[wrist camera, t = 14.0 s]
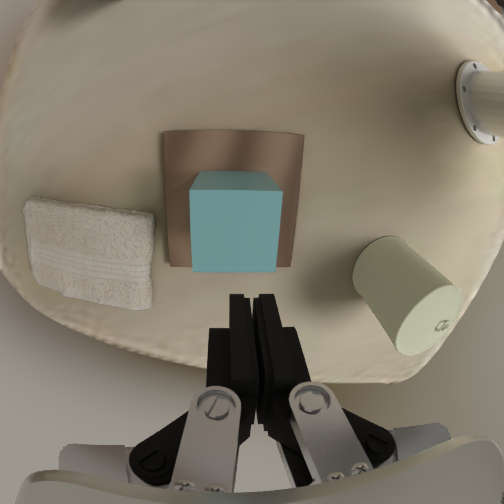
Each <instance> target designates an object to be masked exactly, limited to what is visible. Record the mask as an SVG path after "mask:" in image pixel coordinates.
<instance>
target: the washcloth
mask: <svg viewBox="0 0 504 504" xmlns="http://www.w3.org/2000/svg"><path fill="white" fill-rule="evenodd" d="M22 213H23V215H24V218H25V226H26V237H27V245H28V254H29V261H30V266H31V271H32V275H33V276H34V277H35V280H36V282H37V283H38V284H40V285H41V286H45V287H47V288H50V289H53V290H56V291H58V292H60V293H61V294H62V295H63V296H64V297H73V298H77V299H83V300H87V301H90V302H94V303H97V304H98V303H99V304H103V305H111V306H116V307H121V308H125V309H130V310H145V309H149V308H151V307H152V305H153V304H152V303H153V291H152V287H153V286H152V281H151V280H152V278H151V277H150V271H151V260H152V257H153V251H154V235H155V232H154V231H155V216H154V215H153V213H149V212H147V213H146V212H140V211H135V210H134V209H132V210H127V209H117V208H111V207H109V208H108V207H106V206H105V207H103V206H101V205H98V206H96V205H93V204H82V203H79V204H75V203H71V202H61V201H58V200H57V201H55V200H51V199H43V198H38V197H32V198H31V199H29V200H26V202H25V206H24V208H23V211H22Z"/></svg>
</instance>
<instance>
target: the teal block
mask: <svg viewBox="0 0 504 504" xmlns="http://www.w3.org/2000/svg"><path fill="white" fill-rule="evenodd" d="M189 196H190V230H191V252H192V269H193V272H275V270H276V260H277V251H278V240H279V230H280V219H281V208H282V196H283V191H282V190H281V189H280V187H279V186H278V185H277V184H276V183H275V182H274V180H273V179H272V178H271V177H270V176H269V175H268V173H267V172H246V171H200V172H199V174H198V176H197V177H196V179H195V181H194V183H193V184H192V186H191V188H190V190H189Z"/></svg>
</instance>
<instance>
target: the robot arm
mask: <svg viewBox="0 0 504 504" xmlns="http://www.w3.org/2000/svg"><path fill="white" fill-rule="evenodd" d="M456 93H457V101H458V106H459V110H460V113H461V116H462V119H463V122H464V124H465V126H466V128H467V130H468V131H469V133H470V134H471V135H472V137H473V138H474V139H475V140H477V141H478V142H480V143H483V144H486V145H492V144H494V143H496V142H497V141H498V140H499V139H500V138H504V71H490V70H489V68H487V67H486V66H485V65H484V64H482V63H481V62H478V61H467V62H465V63H463V64H462V65H461V67H460V68H459V71H458V74H457V80H456ZM206 381H207V382H206V388H204V389H202V390H200V391H198V392H197V393H196V394H195V395H194V397H193V399H192V401H191V405H190V409H189V411H187V412H186V413H185V414H183V415H182V416H180V417H179V418H177V419H176V420H175V421H173V422H172V423H170V424H169V425H167V426H166V427H165V428H163V429H161V430H160V431H158V432H157V433H155V434H154V435H152V436H150V437H149V438H147V439H146V440H144V441H142V442H141V443H139V444H138V445H137V446H136V447H125V446H124V445H87V444H68V445H67V446H65V447H63V449H62V450H61V451H60V455H59V470H44V471H38V472H35V473H32V474H30V475H29V476H28V477H27V478H26V479H25V480H24V482H23V483H22V485H21V487H20V490H19V492H18V495H17V498H16V502H15V504H504V455H503V453H502V451H501V450H500V448H499V447H498V445H497V444H496V443H495V442H494V441H493V440H492V439H491V438H488V437H486V436H481V435H467V436H462V437H457V438H454V439H451V437H450V433H449V431H448V429H447V428H446V427H445V426H444V425H442V424H440V423H431V424H424V425H417V426H409V427H400V428H394V429H393V430H390V431H388V430H386V429H384V428H383V427H380V426H378V425H376V424H374V423H372V422H369V421H368V420H365V419H363V418H361V417H359V416H357V415H355V414H353V413H351V412H349V411H347V410H345V409H343V408H341V406H340V404H339V402H338V401H337V399H336V397H335V395H334V393H333V392H332V391H331V389H329V388H328V387H327V386H325V385H323V384H321V383H319V382H312V381H311V379H310V375H309V372H308V368H307V365H306V362H305V358H304V355H303V351H302V348H301V345H300V341H299V338H298V335H297V331H296V329H295V327H282V324H281V320H280V316H279V312H278V308H277V304H276V300H275V296H274V294H259V298H254V300H253V314H252V313H251V305H250V298H244V294H230V302H229V328H210V329H209V341H208V359H207V380H206ZM255 411H256V412H257V420H258V424H263V425H264V431H268V435H269V436H270V437H272V438H273V439H274V440H276V443H277V447H278V450H279V453H280V455H281V458H282V461H283V464H284V467H285V469H286V472H287V475H288V478H289V481H290V483H291V486H292V488H291V489H283V490H274V491H263V492H244V493H234V488H235V480H236V472H237V463H238V455H239V446H240V445H241V444H242V443H243V442H244V441H245V440H246V439H248V437H250V429H251V424H254V418H255Z"/></svg>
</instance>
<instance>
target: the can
mask: <svg viewBox="0 0 504 504" xmlns="http://www.w3.org/2000/svg"><path fill="white" fill-rule="evenodd" d="M352 280H353V285H354V288H355V289H356V291H357V292H358V293H359V294H360V295H361V296H362V297H363V299H364V300H365V301H366V303H367V304H368V306H369V307H370V309H371V310H372V312H373V313H374V314H375V316H376V317H377V319H378V320H379V322H380V323H381V325H382V327H383V328H384V330H385V331H386V333H387V334H388V336H389V338H390V339H391V341H392V343H393V344H394V346H395V349H396V350H397V352H398V353H400V354H402V355H405V356H410V355H416V354H419V353H421V352H424V351H425V350H427V349H429V348H430V347H432V346H433V345H435V344H436V343H437V342H438V341H440V340H441V339H442V338H443V337H444V336H445V335H446V333H447V332H448V331H449V330H450V329H451V327H452V326H453V324H454V323H455V321H456V319H457V317H458V315H459V313H460V310H461V306H462V293H461V291H460V289H459V288H458V287H457V286H455V285H454V284H453V283H451V282H450V281H449V280H448V279H447V278H446V277H445V276H443V275H442V274H441V273H440V272H439V271H438V270H436V269H435V268H434V267H433V266H432V265H431V264H430V263H428V262H427V261H426V260H425V259H424V258H422V257H421V256H420V255H419V254H418V253H417V252H415V251H414V250H413V249H412V248H411V247H410V246H408V244H407V243H406V242H405V241H404V240H403V239H401V238H399V237H395V236H386V237H382V238H380V239H377V240H376V241H374V242H372V243H371V244H370V245H368V246H367V247H366V248H365V249H364V250H363V252H362V253H361V254H360V256H359V257H358V259H357V261H356V263H355V266H354V269H353V274H352Z"/></svg>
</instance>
